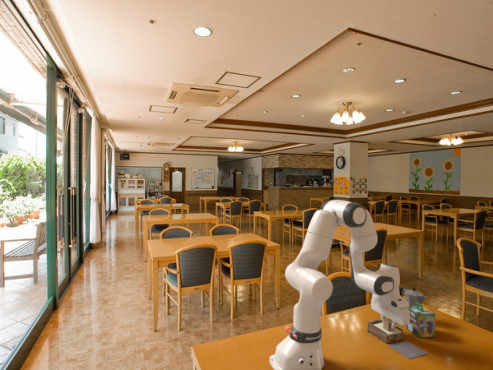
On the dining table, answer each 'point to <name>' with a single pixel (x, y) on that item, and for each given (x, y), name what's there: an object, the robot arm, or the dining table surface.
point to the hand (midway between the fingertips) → (388, 326)
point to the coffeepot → (412, 296)
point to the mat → (408, 349)
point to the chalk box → (421, 321)
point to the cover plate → (380, 325)
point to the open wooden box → (381, 334)
